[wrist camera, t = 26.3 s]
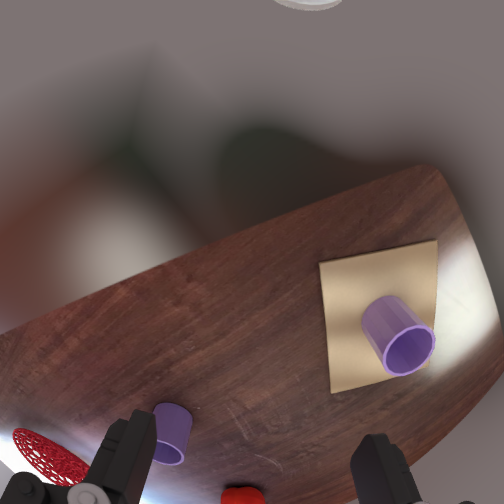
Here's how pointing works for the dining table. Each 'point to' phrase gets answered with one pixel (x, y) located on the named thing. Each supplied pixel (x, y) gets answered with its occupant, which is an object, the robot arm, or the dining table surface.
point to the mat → (362, 295)
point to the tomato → (242, 496)
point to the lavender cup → (397, 335)
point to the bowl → (62, 458)
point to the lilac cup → (171, 433)
